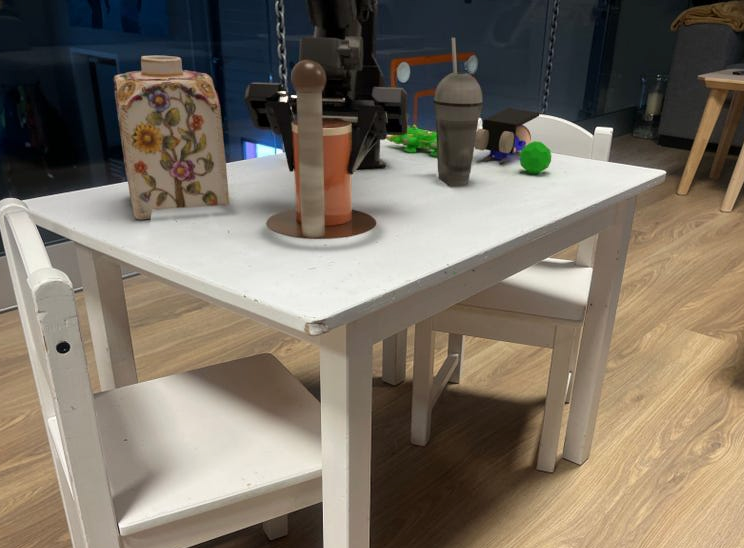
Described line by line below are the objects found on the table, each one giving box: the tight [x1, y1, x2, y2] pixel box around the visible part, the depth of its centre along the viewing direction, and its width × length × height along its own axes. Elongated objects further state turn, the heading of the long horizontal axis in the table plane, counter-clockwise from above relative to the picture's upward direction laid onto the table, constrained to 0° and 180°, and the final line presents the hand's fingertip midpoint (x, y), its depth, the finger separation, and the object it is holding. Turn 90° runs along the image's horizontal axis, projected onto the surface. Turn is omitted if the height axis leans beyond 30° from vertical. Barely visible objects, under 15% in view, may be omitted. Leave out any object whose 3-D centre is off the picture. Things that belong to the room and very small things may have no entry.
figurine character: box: [474, 107, 540, 164], centre depth 125 cm, size 7×8×15 cm
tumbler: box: [291, 117, 353, 226], centre depth 84 cm, size 7×7×11 cm
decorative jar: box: [113, 55, 230, 221], centre depth 90 cm, size 12×12×18 cm
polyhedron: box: [519, 140, 552, 175], centre depth 115 cm, size 5×5×5 cm
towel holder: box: [265, 60, 377, 240], centre depth 81 cm, size 13×13×19 cm
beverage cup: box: [432, 37, 484, 187], centre depth 105 cm, size 7×7×20 cm
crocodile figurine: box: [385, 124, 437, 158], centre depth 128 cm, size 7×18×4 cm, turn 56°
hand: (320, 171), depth 83 cm, fingers closed on tumbler, 7 cm apart
